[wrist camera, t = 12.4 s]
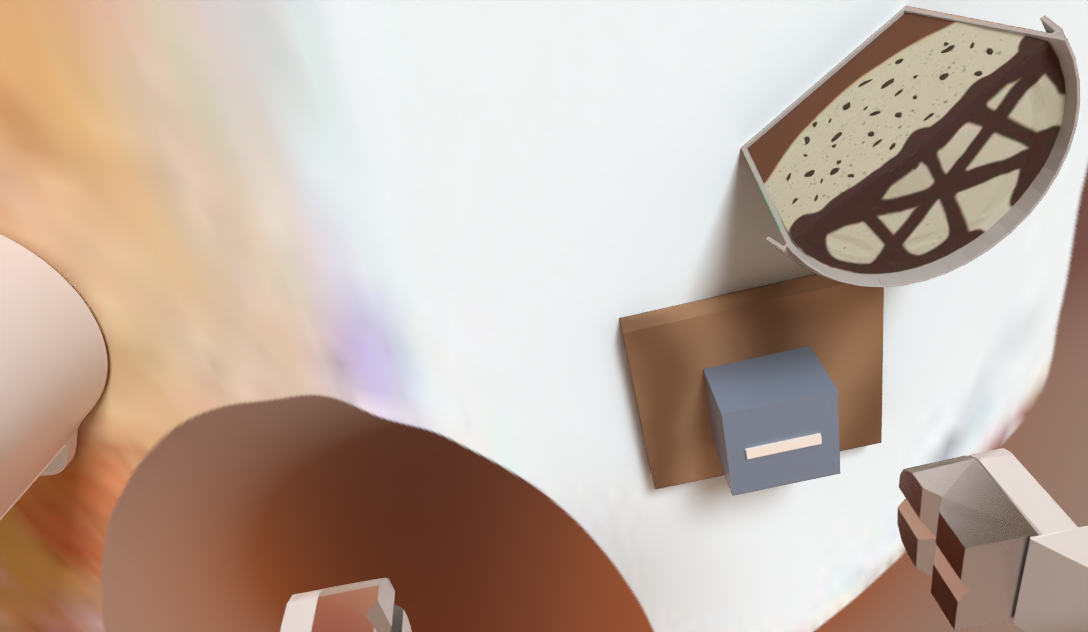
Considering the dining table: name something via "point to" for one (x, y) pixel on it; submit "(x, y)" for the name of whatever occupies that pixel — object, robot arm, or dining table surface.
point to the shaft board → (744, 333)
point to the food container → (919, 147)
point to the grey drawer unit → (774, 420)
